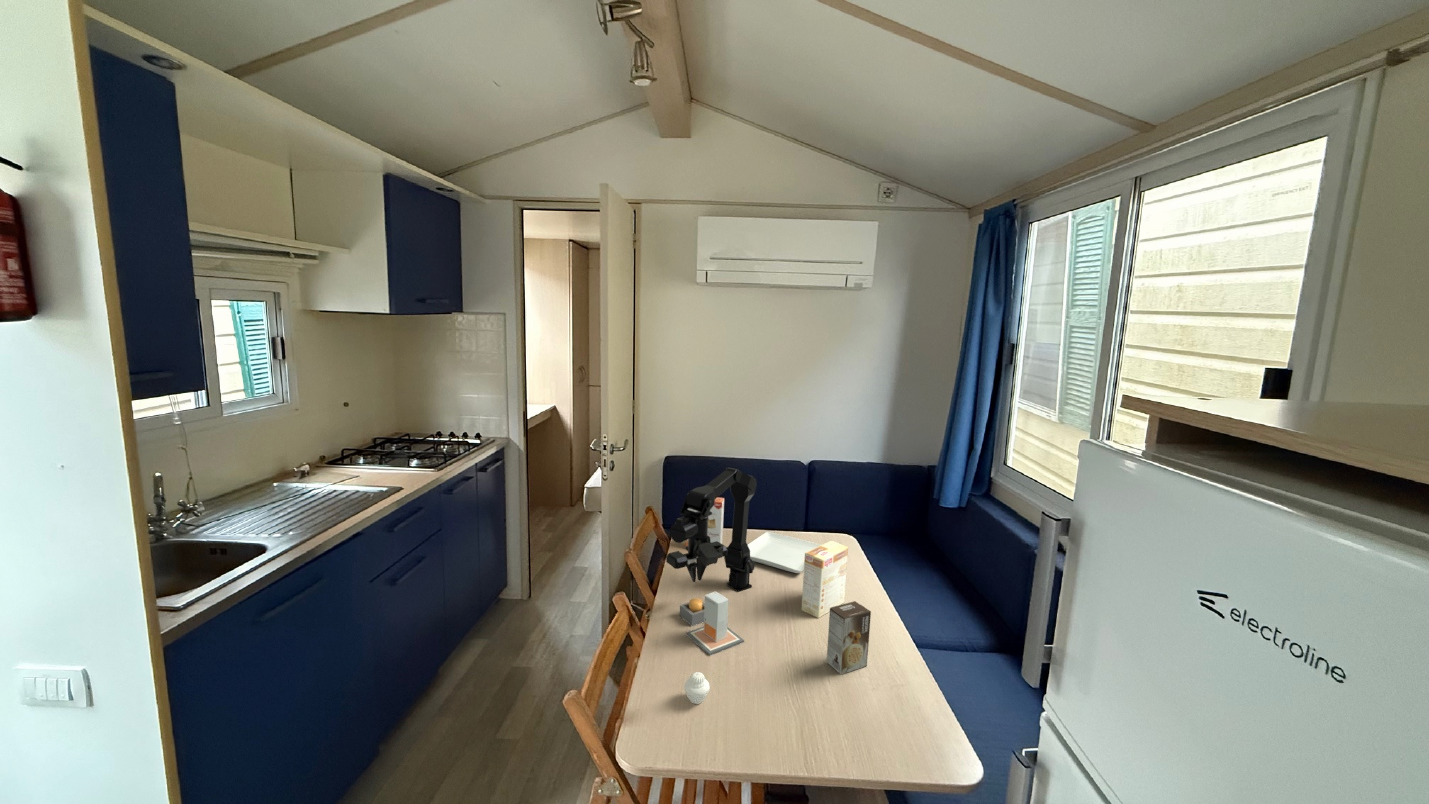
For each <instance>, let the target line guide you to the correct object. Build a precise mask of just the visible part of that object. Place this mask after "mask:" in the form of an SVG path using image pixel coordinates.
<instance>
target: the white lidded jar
mask: <svg viewBox="0 0 1429 804" xmlns="http://www.w3.org/2000/svg"><path fill="white" fill-rule="evenodd" d="M683 687H684V691H685V694H686V696H687V698H688V700H689V701H690V703H692V704H694V705H699V704H702V703H703V702H704V700H705V699H706V697H707V696H708V694H709V692H710V690H711V689H710V682H709V681H708V680H707V679H706V677H705V675H704V674H703V673H702V672H699V671H697V672H693V673H691V675H690V676H689V678H688V679H687V680H686V681H685V683H684V685H683Z"/></svg>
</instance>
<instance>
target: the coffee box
mask: <svg viewBox="0 0 1429 804" xmlns="http://www.w3.org/2000/svg"><path fill="white" fill-rule="evenodd" d="M871 616H872V611H871V610H869V609H868V608H866V607H865V606H863V604H860V603H859V602H857V601H855V600H853V601H851V602H847V603H843V604H841V605H839V606H835V607H831V608H830V611H829V617H828V619H829V620H828V631H827V632H828V635H827V652H826V663H827V664H828V665H829V666H830V667H832V668H833V669H834V670H836V672H838V673H839V675H844V674H847V673H850V672H853V671H857V670H858V669H861V668H864V667H865V668H866V667H867V665H868V656H869V645H870V644H869V642H870V628H871V618H872V617H871Z"/></svg>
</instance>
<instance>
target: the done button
mask: <svg viewBox="0 0 1429 804" xmlns="http://www.w3.org/2000/svg"><path fill="white" fill-rule="evenodd" d="M688 602H689V610H690V611H692V612H693V613H695V612H698V611H701V610H702V602H703V600H702V599H700V598H692V599H689V601H688Z"/></svg>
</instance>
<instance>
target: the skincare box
mask: <svg viewBox="0 0 1429 804" xmlns="http://www.w3.org/2000/svg"><path fill="white" fill-rule="evenodd" d="M704 603H705V606H704V622H703V626H704V630H703V633H704V634H706V635H707V636H709V637H710V638H711V639H713V640H714V641H715V642H718V641H720V640H723V639H725V638H727V627H728V619H729V616H728V615H729V598H727V597H725V596H724V595H723V594H721V593H719V592H717V591H713V592H710V593H708V594H705V595H704Z"/></svg>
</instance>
